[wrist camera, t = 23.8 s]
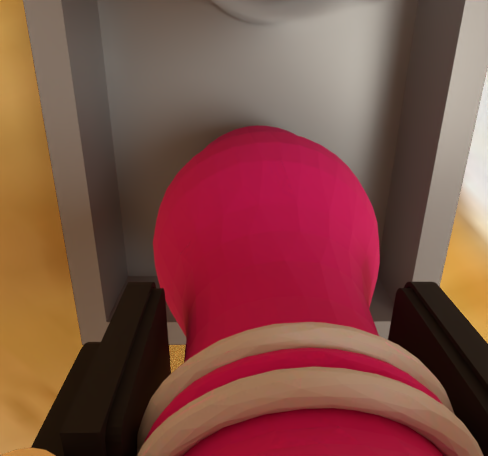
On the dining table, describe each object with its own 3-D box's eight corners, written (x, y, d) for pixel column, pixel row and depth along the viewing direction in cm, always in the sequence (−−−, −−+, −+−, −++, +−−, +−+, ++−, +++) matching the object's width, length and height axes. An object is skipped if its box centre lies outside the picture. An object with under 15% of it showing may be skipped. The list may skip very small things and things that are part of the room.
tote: (389, 286, 24) (426, 343, 19) (112, 286, 23) (82, 345, 19) (481, -266, 15) (591, -404, 10) (39, -278, 15) (-51, -426, 10)
